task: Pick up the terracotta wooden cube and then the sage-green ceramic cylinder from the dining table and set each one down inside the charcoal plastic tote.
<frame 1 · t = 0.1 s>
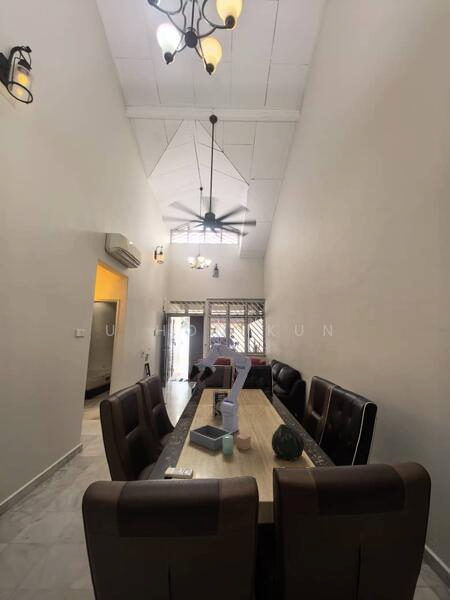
hand: (195, 379, 134), 32 cm above the table, tool tilted 50°, fingers open, 7 cm apart
squash: (287, 457, 121), on the table
terracotta cube: (243, 447, 130), on the table
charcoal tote: (210, 441, 135), on the table
sage cylinder: (227, 452, 124), on the table
coffee box: (219, 417, 175), on the table
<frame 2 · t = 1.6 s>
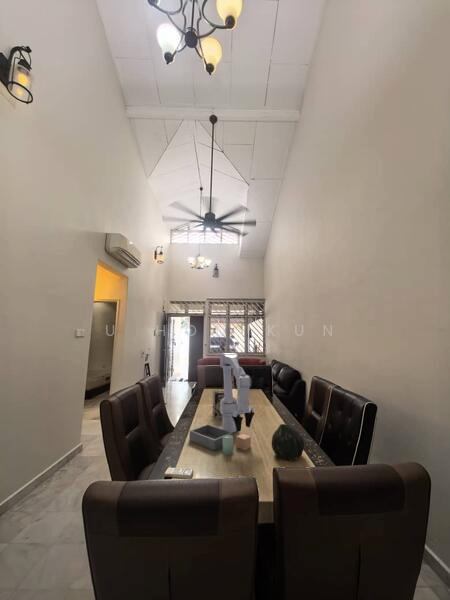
hand: (243, 428, 131), 9 cm above the table, tool pointing down, fingers open, 7 cm apart
nothing on the table moved.
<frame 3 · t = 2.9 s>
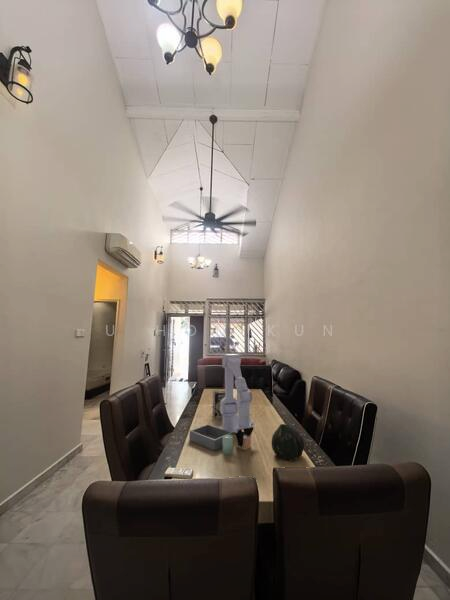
hand: (243, 443, 130), 1 cm above the table, tool pointing down, fingers closed on terracotta cube, 5 cm apart
terracotta cube: (243, 446, 130), on the table, touching gripper
everything else where it was.
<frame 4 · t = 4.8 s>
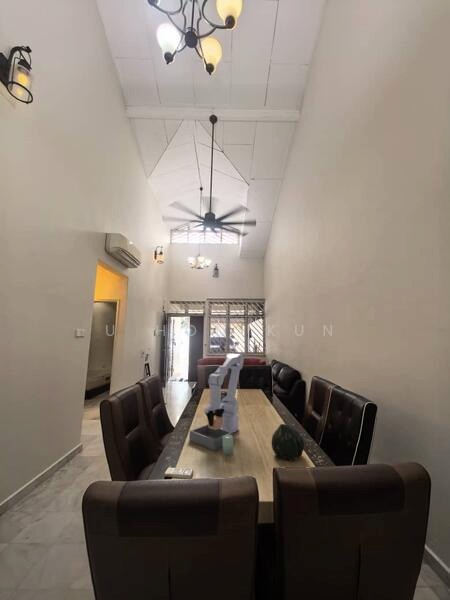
hand: (214, 424, 137), 8 cm above the table, tool pointing down, fingers closed on terracotta cube, 5 cm apart
terracotta cube: (215, 427, 137), point 7 cm above the table, touching gripper
everything else where it was.
when the fingers open (3 cm above the table, at t = 6.6 s): terracotta cube drops 1 cm, resting on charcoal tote.
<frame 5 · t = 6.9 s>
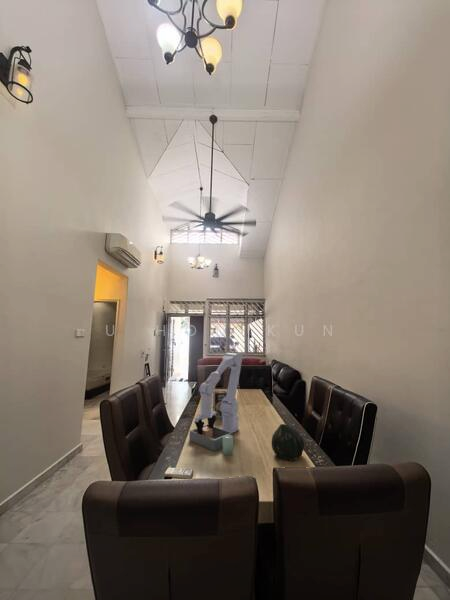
hand: (205, 432, 138), 3 cm above the table, tool pointing down, fingers open, 7 cm apart
terracotta cube: (205, 438, 138), resting on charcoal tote
everything else where it was.
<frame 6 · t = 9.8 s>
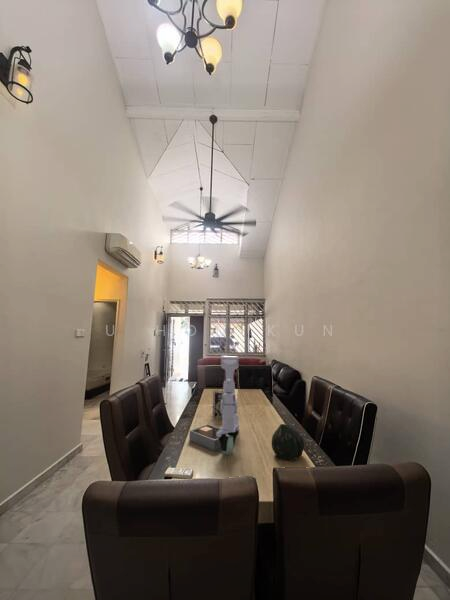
hand: (227, 448, 124), 2 cm above the table, tool pointing down, fingers closed on sage cylinder, 5 cm apart
sage cylinder: (227, 452, 124), on the table, touching gripper
everything else where it was.
when the fingers open (4 cm above the table, at t = 13.0 s): sage cylinder drops 1 cm, resting on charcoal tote.
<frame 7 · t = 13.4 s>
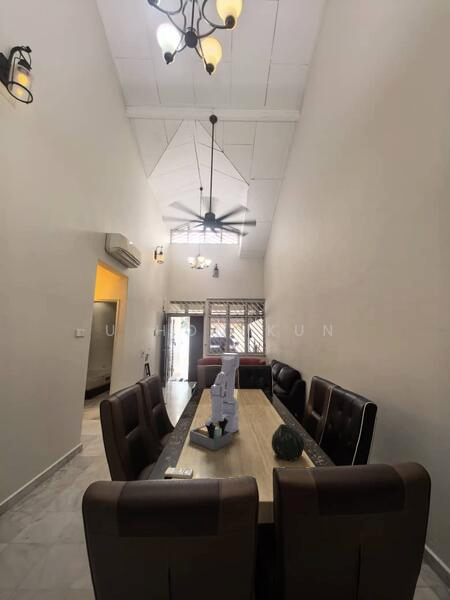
hand: (216, 436, 133), 4 cm above the table, tool pointing down, fingers open, 7 cm apart
sage cylinder: (216, 443, 133), point 1 cm above the table, touching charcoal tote
everything else where it was.
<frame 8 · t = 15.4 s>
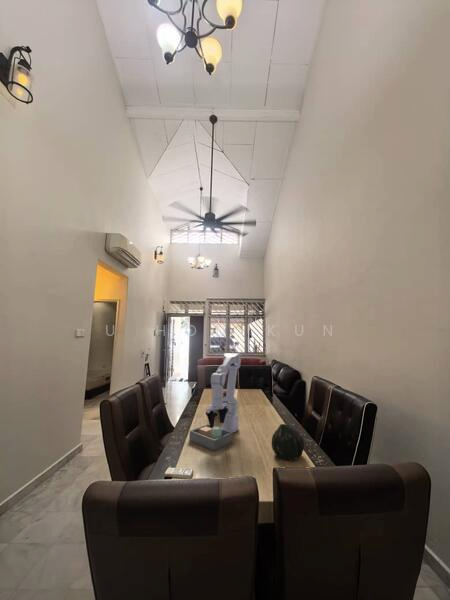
hand: (216, 424, 134), 9 cm above the table, tool pointing down, fingers open, 7 cm apart
nothing on the table moved.
at the end: terracotta cube inside the target area on the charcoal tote (3.7 cm from its centre), point 0.5 cm above the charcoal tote's base; sage cylinder inside the target area on the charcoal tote (4.1 cm from its centre), point 0.5 cm above the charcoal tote's base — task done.
